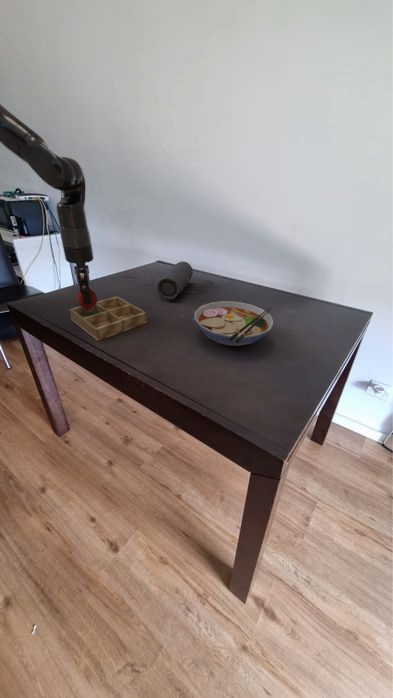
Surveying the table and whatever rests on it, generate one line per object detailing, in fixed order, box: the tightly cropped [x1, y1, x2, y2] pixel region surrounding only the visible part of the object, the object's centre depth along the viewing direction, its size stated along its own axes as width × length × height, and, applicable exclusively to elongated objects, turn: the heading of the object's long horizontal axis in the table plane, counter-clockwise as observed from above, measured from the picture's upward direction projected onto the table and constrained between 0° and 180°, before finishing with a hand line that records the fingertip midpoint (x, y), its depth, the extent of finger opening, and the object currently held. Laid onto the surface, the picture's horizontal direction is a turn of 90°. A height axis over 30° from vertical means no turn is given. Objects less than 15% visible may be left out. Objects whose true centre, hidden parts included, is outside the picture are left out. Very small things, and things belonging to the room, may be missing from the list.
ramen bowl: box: [194, 300, 274, 347], centre depth 84 cm, size 25×23×8 cm
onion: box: [76, 286, 98, 310], centre depth 88 cm, size 6×6×8 cm
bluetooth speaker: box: [156, 261, 194, 300], centre depth 113 cm, size 23×9×10 cm, turn 167°
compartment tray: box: [68, 296, 148, 342], centre depth 91 cm, size 17×17×4 cm
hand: (87, 299), depth 88 cm, fingers closed on onion, 6 cm apart
